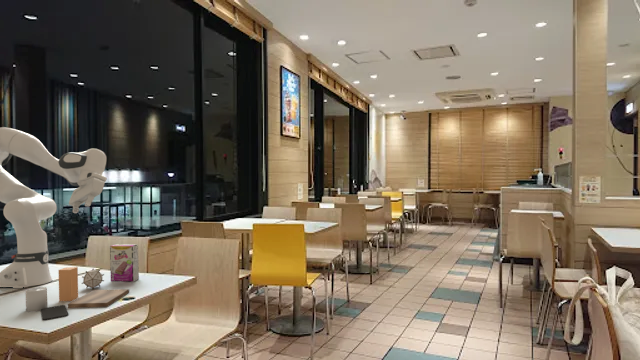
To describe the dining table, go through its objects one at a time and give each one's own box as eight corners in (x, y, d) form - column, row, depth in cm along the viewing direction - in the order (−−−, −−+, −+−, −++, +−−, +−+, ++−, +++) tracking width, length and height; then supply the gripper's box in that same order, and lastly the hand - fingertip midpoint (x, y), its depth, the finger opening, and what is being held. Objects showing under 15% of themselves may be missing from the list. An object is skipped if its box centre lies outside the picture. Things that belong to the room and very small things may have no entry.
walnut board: (67, 307, 147) (67, 303, 147) (94, 293, 165) (93, 290, 165) (107, 306, 147) (107, 302, 147) (129, 292, 165) (128, 289, 165)
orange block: (59, 301, 155) (58, 270, 155) (66, 297, 160) (65, 267, 160) (71, 301, 155) (70, 269, 155) (78, 297, 160) (77, 267, 160)
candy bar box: (109, 281, 184) (109, 245, 184) (116, 279, 189) (115, 243, 189) (133, 282, 183) (132, 245, 183) (139, 279, 188) (138, 243, 188)
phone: (65, 304, 150) (69, 314, 138) (65, 306, 150) (69, 317, 138) (40, 308, 146) (42, 319, 134) (40, 310, 146) (42, 321, 134)
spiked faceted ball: (90, 298, 172) (74, 282, 167) (90, 286, 179) (75, 271, 174) (110, 286, 174) (95, 270, 169) (109, 275, 181) (95, 260, 176)
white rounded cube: (21, 312, 143) (21, 292, 143) (33, 306, 150) (33, 287, 150) (40, 311, 143) (39, 292, 143) (51, 305, 150) (50, 287, 150)
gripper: (69, 186, 183) (60, 213, 175) (95, 170, 173) (86, 199, 166) (83, 191, 187) (75, 218, 180) (109, 176, 178) (101, 204, 170)
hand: (81, 209), depth 173 cm, fingers open, 8 cm apart
